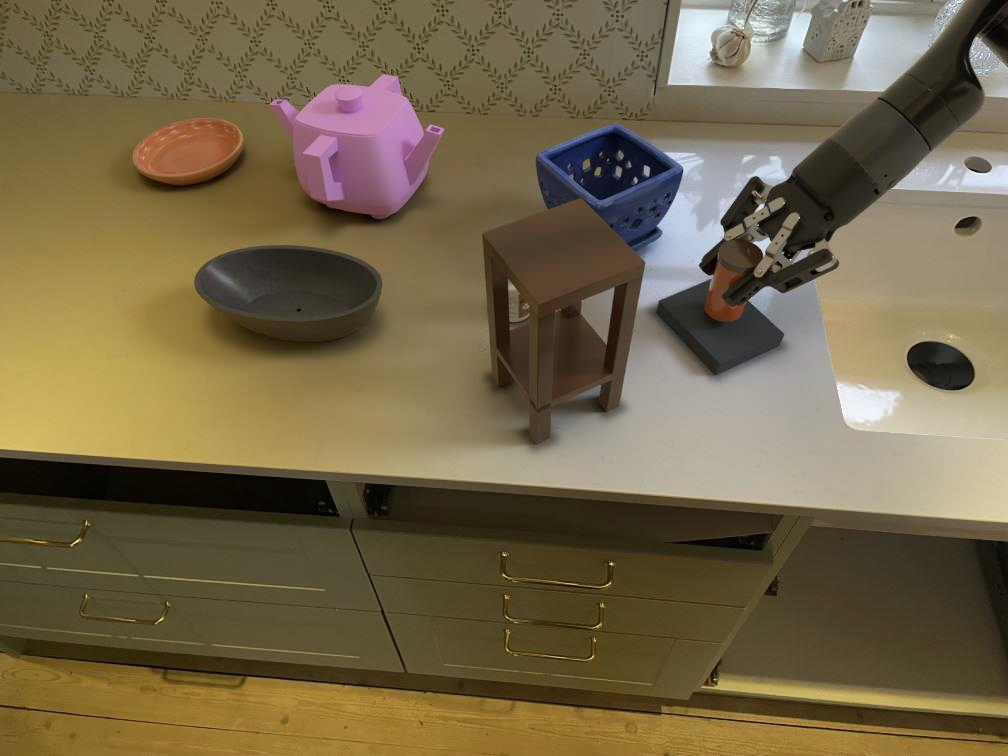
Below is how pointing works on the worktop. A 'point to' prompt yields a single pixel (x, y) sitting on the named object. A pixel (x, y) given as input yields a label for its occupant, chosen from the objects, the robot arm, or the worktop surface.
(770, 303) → the worktop surface
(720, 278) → the spice jar
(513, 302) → the pill bottle
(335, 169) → the teapot
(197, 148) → the saucer
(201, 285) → the bowl
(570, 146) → the flower pot
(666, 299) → the pad
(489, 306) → the stand
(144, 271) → the worktop surface
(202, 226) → the worktop surface
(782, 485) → the worktop surface
